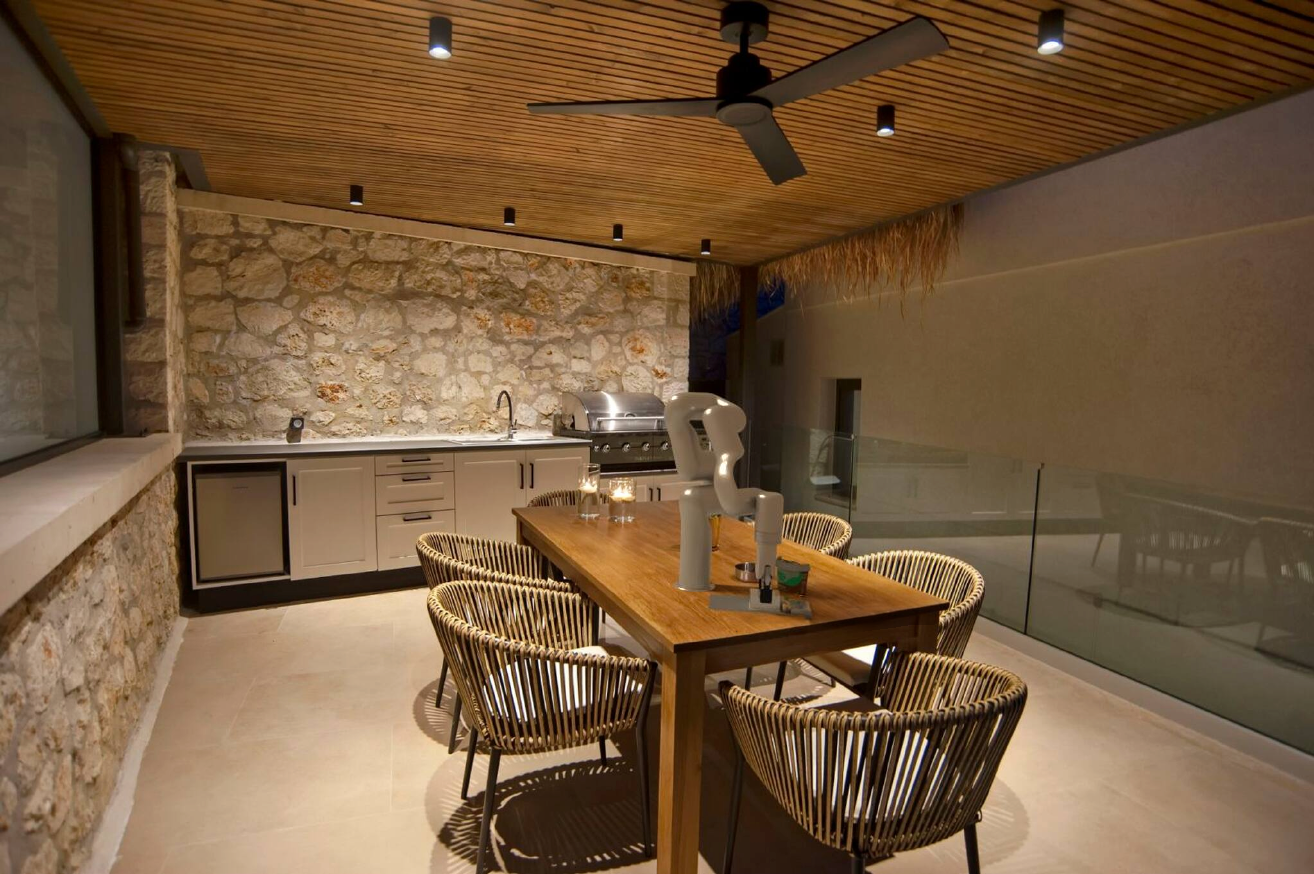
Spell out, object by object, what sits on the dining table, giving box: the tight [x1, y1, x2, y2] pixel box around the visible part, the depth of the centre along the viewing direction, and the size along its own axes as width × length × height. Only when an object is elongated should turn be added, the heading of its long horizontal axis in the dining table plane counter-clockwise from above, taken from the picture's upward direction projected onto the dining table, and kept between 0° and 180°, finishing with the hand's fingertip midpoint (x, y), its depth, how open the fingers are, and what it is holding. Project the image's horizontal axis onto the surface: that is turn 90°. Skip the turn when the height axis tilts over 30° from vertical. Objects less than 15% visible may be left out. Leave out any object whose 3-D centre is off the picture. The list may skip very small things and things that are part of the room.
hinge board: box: [707, 593, 813, 621], centre depth 198 cm, size 14×28×1 cm, turn 84°
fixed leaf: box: [780, 595, 812, 615], centre depth 195 cm, size 10×8×2 cm
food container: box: [776, 555, 811, 597], centre depth 214 cm, size 12×6×10 cm, turn 37°
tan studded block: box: [749, 588, 781, 611], centre depth 196 cm, size 6×8×4 cm
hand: (764, 597), depth 196 cm, fingers open, 9 cm apart
